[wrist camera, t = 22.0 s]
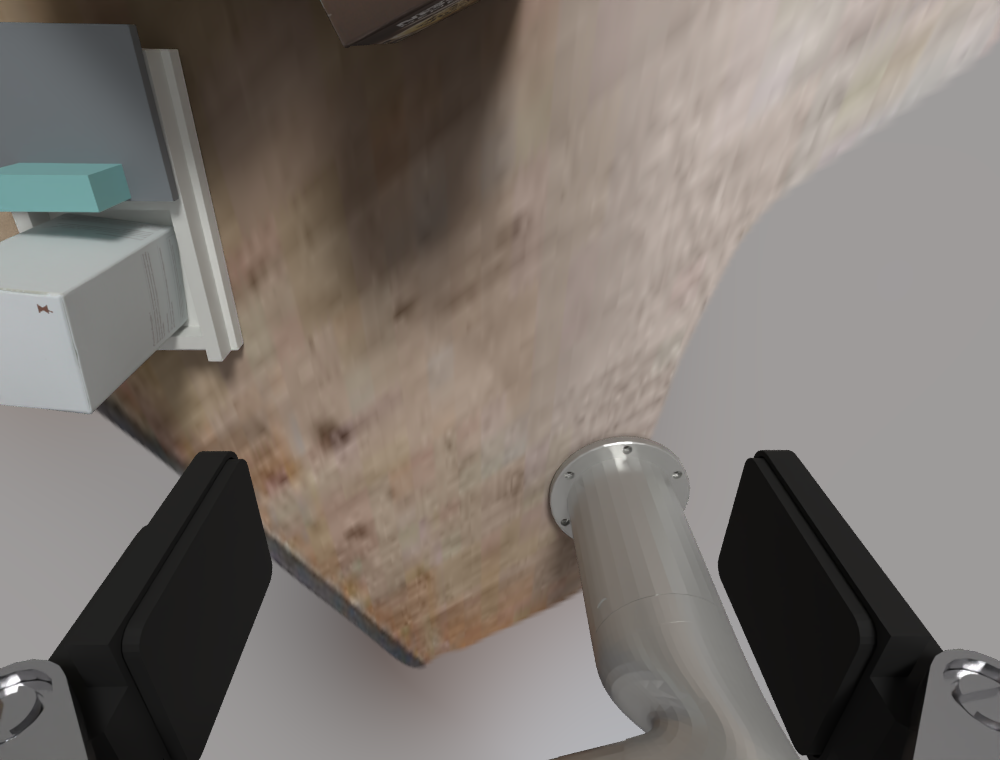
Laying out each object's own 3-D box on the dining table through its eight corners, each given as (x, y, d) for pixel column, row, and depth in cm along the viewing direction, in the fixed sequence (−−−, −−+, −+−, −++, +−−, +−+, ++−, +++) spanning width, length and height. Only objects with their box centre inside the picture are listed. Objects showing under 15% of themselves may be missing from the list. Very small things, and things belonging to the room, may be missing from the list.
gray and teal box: (179, 198, 37) (145, 216, 34) (0, 196, 37) (-54, 214, 33) (135, 24, 33) (90, 22, 29) (-70, 21, 32) (-142, 18, 29)
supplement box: (63, 209, 40) (-98, 275, 29) (178, 225, 40) (64, 294, 29) (85, 311, 43) (-50, 403, 32) (190, 323, 44) (93, 417, 33)
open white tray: (243, 343, 46) (229, 361, 43) (87, 342, 46) (62, 360, 43) (177, 49, 36) (153, 49, 34) (-24, 45, 36) (-63, 46, 33)
